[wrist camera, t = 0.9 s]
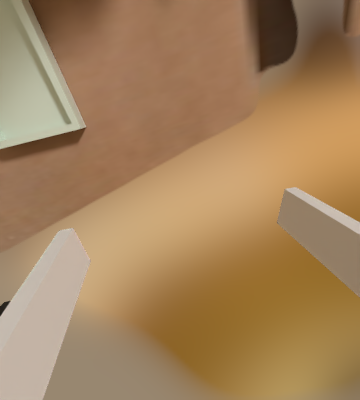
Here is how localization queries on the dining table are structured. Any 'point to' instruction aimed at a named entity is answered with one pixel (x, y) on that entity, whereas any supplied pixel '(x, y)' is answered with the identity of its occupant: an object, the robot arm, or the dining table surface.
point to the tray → (30, 81)
